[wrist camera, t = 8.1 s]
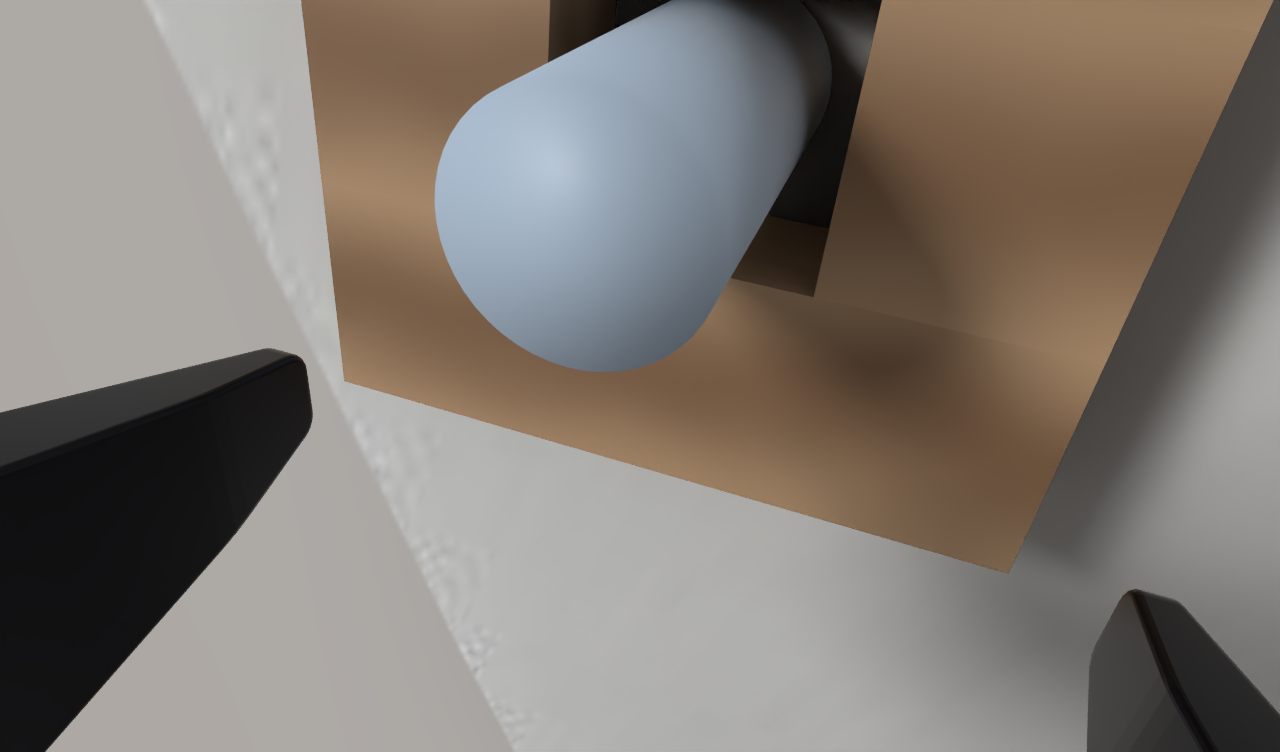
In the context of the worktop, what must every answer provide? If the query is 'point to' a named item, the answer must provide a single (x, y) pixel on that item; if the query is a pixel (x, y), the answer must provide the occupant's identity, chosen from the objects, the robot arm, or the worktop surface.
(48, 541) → the robot arm
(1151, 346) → the worktop surface
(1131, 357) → the worktop surface
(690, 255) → the peg
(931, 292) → the socket board
